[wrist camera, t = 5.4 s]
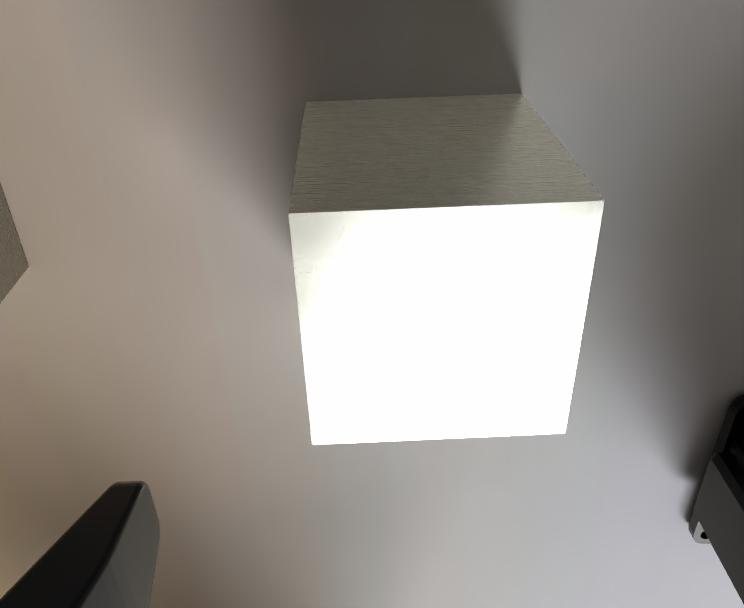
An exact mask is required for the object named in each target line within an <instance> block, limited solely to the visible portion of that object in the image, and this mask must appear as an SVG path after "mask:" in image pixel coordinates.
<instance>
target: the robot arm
mask: <svg viewBox="0 0 744 608" xmlns="http://www.w3.org/2000/svg"><path fill="white" fill-rule="evenodd" d="M693 510H694V512H693V515H692V517H691V520H690V523H689V531H690V533H691V535H692V537H693V539H694V540H695V542H698V543H701V544H710V543H711V544H712V546H713V548H714V550H715V552H716V554H717V555H718V557H719V559H720V561H721V563H722V565H723V567H724V568H725V570H726V572H727V574H728V576H729V578H730V579H731V581H732V583H733V585H734V587H735V589H736V591H737V592H738V594H739V596H740V598H741V600H742V602H743V603H744V395H742V396H740V397H737V398H736V399H735V400H734V401H733V402H732V403H731V404H730V406H729V408H728V411H727V414H726V417H725V420H724V423H723V426H722V429H721V432H720V435H719V438H718V441H717V444H716V447H715V450H714V453H713V456H712V458H711V459H710V461H709V464H708V467H707V470H706V473H705V476H704V478H703V481H702V484H701V487H700V490H699V493H698V496H697V499H696V502H695V505H694V508H693ZM159 536H160V527H159V520H158V517H157V513H156V510H155V506H154V503H153V500H152V496H151V493H150V489H149V487H148V485H147V484H146V483H145V482H142V481H130V482H117V483H115V484H113V485H111V486H110V487H109V488H108V489H107V490H106V491H105V492H104V493H103V494H102V495H101V496H100V497H99V498H98V499H97V500H96V501H95V502H94V503H93V505H92V506H91V507H90V508H89V509H88V510H87V511H86V512H85V513H84V514H83V515H82V516H81V517H80V518H79V519H78V520H77V521H76V522H75V523H74V524H73V525H72V526H71V527H70V528H69V529H68V530H67V531H66V532H65V533H64V534H63V535H62V536H61V537H60V538H59V539H58V540H57V541H56V543H55V544H54V545H53V546H52V547H51V548H50V549H49V550H48V551H47V552H46V553H45V554H44V555H43V556H42V557H41V558H40V559H39V560H38V561H37V562H36V563H35V564H34V565H33V566H32V567H31V568H30V569H29V570H28V571H27V572H26V573H25V574H24V575H23V576H22V577H21V578H20V579H19V580H18V582H17V583H16V584H15V585H14V586H13V587H12V588H11V589H10V590H9V591H8V592H7V593H6V594H5V595H4V596H3V597H2V598H1V599H0V608H149V604H150V597H151V591H152V584H153V578H154V571H155V564H156V558H157V551H158V544H159Z"/></svg>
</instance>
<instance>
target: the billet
mask: <svg viewBox="0 0 744 608" xmlns="http://www.w3.org/2000/svg"><path fill="white" fill-rule="evenodd" d="M603 207H604V199H603V198H602V197H601V195H600V194H599V193H598V192H597V190H596V189H595V188H594V186H593V185H592V184H591V182H590V181H589V180H588V179H587V177H586V176H585V175H584V173H583V172H582V171H581V169H580V168H579V167H578V166H577V164H576V163H575V162H574V160H573V159H572V158H571V157H570V155H569V154H568V153H567V151H566V150H565V149H564V147H563V146H562V145H561V144H560V142H559V141H558V140H557V138H556V137H555V136H554V134H553V133H552V132H551V131H550V129H549V128H548V127H547V125H546V124H545V123H544V121H543V120H542V119H541V118H540V116H539V115H538V114H537V112H536V111H535V110H534V109H533V107H532V106H531V105H530V103H529V102H528V101H527V99H526V98H525V97H524V96H523V94H496V95H470V96H444V97H418V98H392V99H366V100H340V101H314V102H306V103H305V110H304V116H303V123H302V129H301V135H300V142H299V148H298V155H297V161H296V168H295V174H294V181H293V187H292V194H291V200H290V207H289V213H288V214H289V224H290V234H291V243H292V253H293V263H294V272H295V282H296V292H297V301H298V311H299V321H300V330H301V340H302V350H303V359H304V369H305V379H306V388H307V398H308V408H309V417H310V427H311V437H312V445H320V444H342V443H364V442H386V441H408V440H429V439H451V438H473V437H495V436H517V435H539V434H561V433H565V430H566V424H567V418H568V413H569V407H570V401H571V395H572V389H573V383H574V377H575V371H576V366H577V360H578V354H579V348H580V342H581V336H582V330H583V324H584V319H585V313H586V307H587V301H588V295H589V289H590V283H591V278H592V272H593V266H594V260H595V254H596V248H597V242H598V236H599V231H600V225H601V219H602V213H603Z"/></svg>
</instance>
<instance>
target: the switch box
mask: <svg viewBox="0 0 744 608" xmlns="http://www.w3.org/2000/svg"><path fill="white" fill-rule="evenodd" d="M27 268H28V264H27V261H26V258H25V255H24V252H23V249H22V246H21V243H20V241H19V238H18V235H17V232H16V229H15V226H14V223H13V220H12V217H11V214H10V211H9V208H8V205H7V203H6V200H5V197H4V194H3V191H2V188H1V185H0V303H1V302H2V300H3V299H4V298H5V296H6V295H7V294H8V293H9V291H10V290H11V289H12V287H13V286H14V285H15V284H16V282H17V281H18V280H19V278H20V277H21V276H22V275H23V273H24V272H25V271H26V269H27Z"/></svg>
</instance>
